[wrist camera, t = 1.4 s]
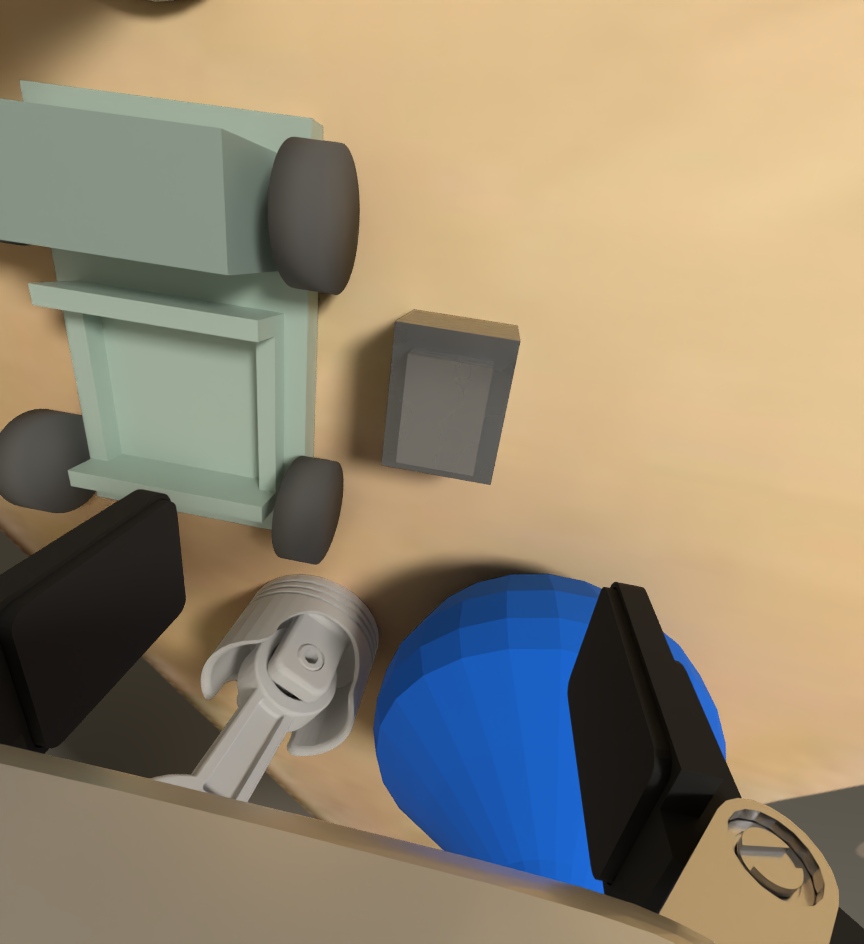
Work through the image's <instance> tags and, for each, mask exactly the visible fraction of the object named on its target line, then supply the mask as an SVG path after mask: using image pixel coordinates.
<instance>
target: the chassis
mask: <svg viewBox="0 0 864 944" xmlns="http://www.w3.org/2000/svg"><path fill="white" fill-rule="evenodd" d="M19 81H20V86H21V91H22V97H23V102H22V101H15V100H8V99H0V242H3V243H9V244H15V245H38V246H44V247H50V248H51V251H52V256H53V262H54V267H55V272H56V278H57V281H54V282H38V283H28V286H29V291H30V296H31V300H32V305H36V306H42V307H48V308H54V309H60V310H63V315H64V320H65V326H66V331H67V336H68V342H69V347H70V352H71V358H72V363H73V368H74V374H75V379H76V384H77V390H78V395H79V400H80V406H81V411H82V415H76V414H71V413H65V412H60V411H54V410H49V409H34V410H30V411H27V412H25V413H22V414H21V415H19V416H17V417H16V418H14V419H13V420H12V421H10V422H9V423H8V424H7V425H6V426H5V428H4V429H3V430H2V431H1V433H0V495H1V496H2V497H3V498H4V499H5V500H7V501H8V502H10V503H12V504H14V505H17V506H21V507H26V508H31V509H36V510H42V511H47V512H52V513H65V512H69V511H72V510H75V509H77V508H78V507H80V506H82V505H83V504H84V503H86V502H87V501H88V500H89V499H90V498H91V497H92V496H93V495H94V493H95V492H96V491H97V496H99V497H104V498H109V499H115V500H120V499H122V498H124V497H125V496H127V495H128V494H130V493H132V492H133V491H135V490H137V489H144V490H149V491H154V492H159V493H164V494H166V495H168V496H169V498H170V500H171V502H173V503H175V505H176V508H177V512H182V513H187V514H192V515H197V516H202V517H207V518H213V519H218V520H223V521H228V522H233V523H238V524H244V525H249V526H254V527H259V528H264V529H269V530H272V544H273V548H274V551H275V553H276V555H277V556H278V557H280V558H284V559H289V560H295V561H300V562H305V563H310V564H318V563H320V562H321V561H322V560H323V558H324V557H325V555H326V553H327V552H328V550H329V547H330V545H331V543H332V540H333V537H334V534H335V531H336V528H337V524H338V520H339V516H340V511H341V505H342V497H343V471H342V467H341V465H340V463H338V462H335V461H330V460H324V459H319V458H314V426H315V393H316V359H317V326H318V292H321V293H327V294H334V295H338V294H340V293H341V292H342V291H343V290H344V288H345V287H346V285H347V283H348V281H349V279H350V276H351V273H352V269H353V266H354V261H355V256H356V251H357V244H358V234H359V214H360V207H359V188H358V180H357V173H356V168H355V164H354V161H353V158H352V155H351V153H350V150H349V149H348V147H347V146H346V145H345V144H343V143H338V142H331V141H323V126H322V125H321V124H319V123H318V122H316V121H315V120H314V119H312V118H306V117H298V116H290V115H283V114H275V113H268V112H260V111H252V110H245V109H237V108H230V107H222V106H214V105H207V104H199V103H191V102H184V101H176V100H169V99H161V98H153V97H146V96H138V95H131V94H123V93H115V92H108V91H100V90H92V89H85V88H77V87H70V86H62V85H54V84H47V83H39V82H32V81H24V80H19Z"/></svg>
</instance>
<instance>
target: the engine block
mask: <svg viewBox="0 0 864 944" xmlns="http://www.w3.org/2000/svg"><path fill="white" fill-rule="evenodd" d="M519 345H520V336H519V330H518V326H517V325H511V324H504V323H498V322H492V321H485V320H479V319H473V318H466V317H460V316H453V315H447V314H441V313H434V312H428V311H422V310H415V309H414V310H413V311H411V312H409V313H408V314H406V315H405V316H403V317H401V318H400V319H398V320H396V321H395V330H394V341H393V351H392V361H391V372H390V382H389V393H388V403H387V413H386V424H385V434H384V444H383V455H382V465H383V466H388V467H394V468H399V469H405V470H410V471H416V472H422V473H427V474H433V475H438V476H444V477H449V478H455V479H460V480H466V481H471V482H477V483H482V484H488V485H491V480H492V475H493V471H494V466H495V461H496V456H497V451H498V446H499V442H500V437H501V432H502V427H503V422H504V418H505V413H506V408H507V403H508V398H509V393H510V389H511V384H512V379H513V374H514V369H515V365H516V360H517V355H518V350H519Z"/></svg>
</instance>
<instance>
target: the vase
mask: <svg viewBox="0 0 864 944" xmlns="http://www.w3.org/2000/svg"><path fill="white" fill-rule="evenodd" d="M600 591H601V588H599V587H596V586H594V585H592V584H590V583H587V582H585V581H581V580H576V579H571V578H565V577H560V576H555V575H550V574H519V575H507V576H503V577H499V578H495V579H490V580H486V581H482V582H478V583H475V584H473V585H471V586H469V587H467V588H465V589H463V590H462V591H460V592H458V593H456V594H454V595H452V596H450V597H448V598H447V599H446V600H445V601H444V602H443V603H441V604H440V605H439V606H438V607H437V608H436V609H435V610H434V611H433V612H432V613H431V614H430V615H429V616H427V617H426V618H425V619H424V620H423V622H422V623H421V624H420V625H419V626H418V627H417V628H416V629H415V630H414V631H413V632H412V633H411V634H410V635H409V636H408V637H407V638H406V639H405V640H404V641H403V642H402V643H401V644H400V646H399V648H398V650H397V652H396V654H395V655H394V657H393V659H392V661H391V663H390V665H389V667H388V668H387V670H386V674H385V677H384V680H383V683H382V686H381V689H380V693H379V696H378V699H377V705H376V713H375V721H374V729H373V730H374V739H375V748H376V756H377V760H378V764H379V768H380V772H381V776H382V780H383V783H384V785H385V786H386V788H387V789H388V791H389V793H390V794H391V796H392V797H393V799H394V801H395V802H396V804H397V805H398V807H399V808H400V809H401V810H402V811H403V812H404V813H405V814H406V815H407V816H408V817H409V818H410V819H411V820H412V821H413V822H414V823H415V824H416V825H417V826H419V827H420V828H421V829H422V830H423V831H424V832H425V833H426V834H427V835H428V836H429V837H430V838H431V839H432V840H433V841H434V842H436V843H437V844H438V845H439V846H440V847H441V848H442V849H443V850H444V851H447V852H451V853H455V854H459V855H463V856H467V857H471V858H475V859H479V860H483V861H486V862H490V863H494V864H498V865H501V866H505V867H509V868H512V869H516V870H520V871H524V872H527V873H531V874H535V875H539V876H542V877H546V878H550V879H554V880H557V881H561V882H565V883H568V884H572V885H576V886H580V887H583V888H586V889H589V890H592V891H595V892H598V893H602V894H604V889H603V882H602V881H600V880H596V879H595V878H594V877H593V874H592V871H591V866H590V858H589V851H588V844H587V836H586V829H585V822H584V814H583V807H582V800H581V792H580V785H579V778H578V771H577V763H576V756H575V749H574V741H573V734H572V727H571V719H570V712H569V705H568V696H567V690H568V682H569V678H570V675H571V673H572V670H573V667H574V664H575V661H576V659H577V656H578V653H579V650H580V647H581V644H582V642H583V639H584V636H585V633H586V630H587V628H588V625H589V622H590V619H591V616H592V614H593V611H594V608H595V605H596V602H597V599H598V597H599V594H600ZM663 633H664V632H663ZM664 636H665V638H666V641H667V643H668V645H669V648H670V650H671V653H672V655H673V657H674V660H676V661H679V662H680V663H681V664H683V666H684V668H685V669H686V671H687V673H688V675H689V678H690V680H691V682H692V685H693V687H694V689H695V692H696V694H697V696H698V699H699V701H700V703H701V705H702V708H703V710H704V712H705V715H706V717H707V719H708V722H709V724H710V726H711V729H712V731H713V733H714V736H715V738H716V740H717V742H718V745H719V747H720V749H721V752H722V754H723V756H724V759H725V761H726V745H725V739H724V735H723V731H722V727H721V723H720V719H719V715H718V711H717V708H716V706H715V704H714V702H713V700H712V698H711V696H710V694H709V692H708V690H707V688H706V686H705V684H704V682H703V680H702V678H701V676H700V674H699V673H698V672H697V670H696V669H695V667H694V666H693V664H692V663H691V662H690V660H689V659H688V657H687V656H686V654H685V653H684V651H683V650H682V649H681V647H680V646H679V645H678V644H677V643H676V642H675V641H673V640H672V639H671V638H670V637H669V636H667V635H666V634H665V633H664Z"/></svg>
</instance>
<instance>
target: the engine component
mask: <svg viewBox="0 0 864 944" xmlns="http://www.w3.org/2000/svg"><path fill="white" fill-rule="evenodd" d="M378 645H379V633H378V628H377V625H376V622H375V619H374V617H373V616H372V614H371V612H370V611H369V609H368V608H367V606H366V605H365V604H364V603H363V602H362V601H361V600H360V599H359V598H358V597H357V596H356V595H355V594H354V593H352V592H351V591H349V590H348V589H346V588H345V587H343V586H341V585H339V584H337V583H335V582H333V581H331V580H328V579H325V578H322V577H317V576H312V575H303V574H299V575H287V576H283V577H279V578H276V579H274V580H272V581H270V582H268V583H266V584H265V585H264V586H263V587H262V588H261V589H259V590H258V592H257V593H256V594H255V596H254V597H253V599H252V600H251V601H250V603H249V604H248V605H247V607H246V608H245V609H244V611H243V612H242V614H241V615H240V616H239V618H238V619H237V620H236V622H235V623H234V624H233V626H232V627H231V629H230V630H229V631H228V633H227V634H226V635H225V637H224V638H223V639H222V641H221V642H220V644H219V645H218V646H217V648H216V649H215V650H214V652H213V653H212V654H211V656H210V657H209V659H208V660H207V662H206V663H205V665H204V667H203V670H202V674H201V688H202V693H203V695H204V698H206V699H211V698H213V697H214V696H215V695H216V694H217V693H218V691H219V690H220V688H221V687H222V685H223V684H225V683H226V682H229V681H234V680H235V681H237V688H238V695H237V705H238V707H239V708H238V709H237V710H236V712H235V713H234V715H233V716H232V717H231V719H230V720H229V722H228V723H227V724H226V726H225V727H224V729H223V730H222V731H221V733H220V734H219V736H218V737H217V739H216V740H215V741H214V743H213V744H212V745H211V747H210V749H209V750H208V751H207V753H206V754H205V755H204V757H203V758H202V760H201V761H200V762H199V764H198V765H197V767H196V768H195V770H194V771H193V772H192V774H191V775H188V774H169V775H164V776H159V777H154V778H151V779H152V780H156V781H160V782H165V783H169V784H173V785H177V786H181V787H185V788H190V789H194V790H198V791H202V792H206V793H210V794H214V795H219V796H223V797H227V798H231V799H235V800H239V801H243V802H248V800H249V798H250V796H251V795H252V793H253V791H254V789H255V788H256V786H257V784H258V782H259V781H260V779H261V777H262V775H263V774H264V772H265V770H266V768H267V766H268V765H269V763H270V761H271V759H272V758H273V756H274V754H275V752H276V750H277V749H278V747H279V745H280V743H281V742H282V740H283V738H284V736H285V734H286V733H287V732H291V731H292V734H291V738H290V740H289V742H288V745H287V750H288V752H289V753H290V754H292V755H294V756H311V755H317V754H321V753H324V752H327V751H330V750H332V749H334V748H335V747H337V746H338V745H340V744H341V743H342V742H343V741H344V740H345V739H346V738H347V737H348V735H349V733H350V732H351V730H352V727H353V724H354V721H355V718H356V715H357V712H358V708H359V705H360V702H361V699H362V696H363V693H364V690H365V687H366V684H367V680H368V677H369V674H370V671H371V668H372V665H373V662H374V659H375V656H376V652H377V649H378Z"/></svg>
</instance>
